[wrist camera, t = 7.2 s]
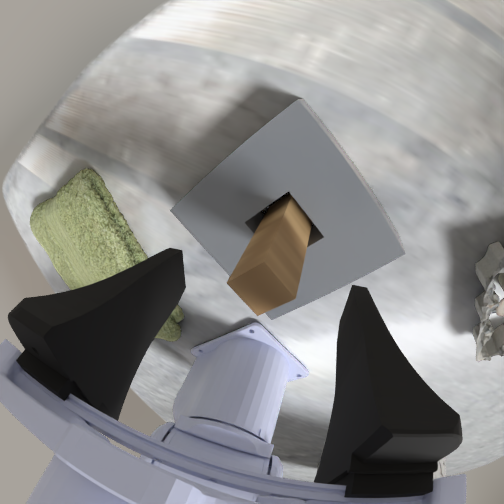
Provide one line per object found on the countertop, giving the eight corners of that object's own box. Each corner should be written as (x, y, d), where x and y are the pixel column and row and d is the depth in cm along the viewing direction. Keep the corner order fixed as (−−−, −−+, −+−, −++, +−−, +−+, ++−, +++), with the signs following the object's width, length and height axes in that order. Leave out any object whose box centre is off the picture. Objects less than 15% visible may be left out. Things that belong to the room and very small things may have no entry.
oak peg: (288, 230, 19) (257, 315, 12) (269, 206, 18) (226, 283, 12) (313, 215, 18) (295, 298, 11) (294, 190, 17) (264, 261, 11)
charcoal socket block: (278, 297, 22) (271, 319, 20) (187, 195, 19) (170, 210, 17) (398, 233, 17) (405, 253, 15) (303, 98, 14) (297, 99, 12)
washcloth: (116, 328, 32) (102, 346, 30) (40, 204, 25) (20, 217, 23) (197, 325, 27) (184, 349, 24) (105, 154, 20) (77, 167, 17)
